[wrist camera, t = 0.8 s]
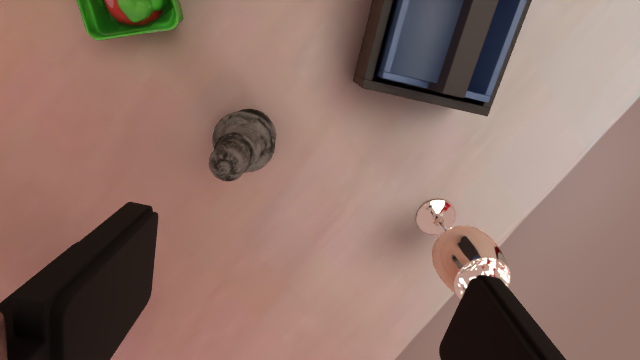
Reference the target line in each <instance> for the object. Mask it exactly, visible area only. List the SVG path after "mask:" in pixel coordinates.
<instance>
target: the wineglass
mask: <svg viewBox="0 0 640 360" xmlns="http://www.w3.org/2000/svg"><path fill="white" fill-rule="evenodd" d="M454 220H455V210H454V208H453V206H452V205H451V204H450V203H449V202H447V201H445V200H441V199H434V200H430V201H428V202H426V203H425V204H423V205H422V206H421V207H420V209H419V210H418V212H417V215H416V223H417V225H418V227H419V228H420V230H422V231H423V232H424V233H427V234H431V235H436V234H440V235H439V236H438V238H437V239H436V241H435V243H434V245H433V248H432V261H433V265H434V268H435V270H436V272H437V274H438V275H439V277H440V279H441V280H442V281H443V282H444V283H445V285H446V286H447V287H448V288H449V289H450V290H451V291H452V292H454V293H455V294H456V295H457V296H458V297H459V298H460V299H462V296H463V294H464V292H465V290H466V288H467V286H468V283H469V281H470V280H471V279H472V278H476V277H477V276H478V275H480V274H482V275H487V276H492V277H497V278H500V279H501V280H502V281H503V282H504V283H505V285H506V286H507V287H509V284H510V281H511V273H510V270H509V268H508V265H507V263H506V260H505V258H504V256H503V254H502V252H501V250H500V249H499V247H498V246H497V244H496V243H495V242H494V241H493V239H492V238H491V237H489V236H488V235H487V234H486V233H484V232H483V231H481V230H479V229H477V228H475V227H471V226H455V227H451V226H452V224H453V223H454ZM450 227H451V228H450Z"/></svg>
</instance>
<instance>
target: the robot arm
mask: <svg viewBox="0 0 640 360" xmlns="http://www.w3.org/2000/svg"><path fill="white" fill-rule="evenodd" d="M157 226H158V213H156V212H153V210H152V207H151V206H148V205H143V204H138V203H134V202H128V203H126V204H125V205H124V206H123V207H122V208H120V209H119V210H118V211H117V212H115V213H114V214H113V215H112V216H110V217H109V218H108V219H107V220H105V221H104V222H103V223H102V224H101V225H99V226H98V227H97V228H96V229H94V230H93V231H92V232H91V233H89V234H88V235H87V236H86V237H84V238H83V239H82V240H81V241H80V242H77V243H75V244H74V245H72V246H71V247H70V248H68V249H67V250H66V251H65V252H63V253H62V254H61V255H60V256H58V257H57V258H56V259H55V260H53V261H52V262H51V263H50V264H48V265H47V266H46V267H45V268H43V269H42V270H41V271H40V272H38V273H37V274H36V275H35V276H33V277H32V278H31V279H30V280H28V281H27V282H26V283H25V284H23V285H22V286H21V287H20V288H18V289H17V290H16V291H15V292H13V293H12V294H11V295H10V296H8V297H7V298H6V299H5V300H3V301H2V302H1V303H0V360H110V359H111V357H112V356H113V354H114V353H115V351H116V350H117V348H118V347H119V345H120V344H121V342H122V341H123V339H124V338H125V336H126V335H127V333H128V332H129V330H130V329H131V327H132V326H133V324H134V323H135V321H136V320H137V318H138V317H139V315H140V314H141V312H142V311H143V309H144V308H145V306H146V305H147V303H148V301H149V298H150V295H151V291H152V280H153V269H154V258H155V247H156V237H157ZM439 353H440V358H441V360H566V359H565V358H564V357H563V355H562V354H561V353H560V351H559V350H558V349H557V348H556V347H555V345H554V344H553V343H552V342H551V340H550V339H549V338H548V337H547V335H546V334H545V333H544V332H543V330H542V329H541V328H540V327H539V325H538V324H537V323H536V322H535V320H533V318H532V317H531V315H530V314H529V313H528V312H527V311H526V309H525V308H524V307H523V306H522V304H521V303H520V302H519V301H518V299H517V298H516V297H515V296H514V294H513V293H512V292H511V291H510V290H509V288H508V287H507V286H506V285H505V283H504V282H503V281H502V280H501V279H500V278H497V277H492V276H487V275H482V274H480V275H478V276H477V277H476V278H472V279H471V280H470V281H469V283H468V286H467V288H466V290H465V292H464V294H463V296H462V299H461V301H460V303H459V305H458V307H457V309H456V312H455V314H454V316H453V318H452V320H451V322H450V324H449V327H448V329H447V331H446V333H445V335H444V338H443V340H442V342H441V344H440V349H439Z"/></svg>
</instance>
